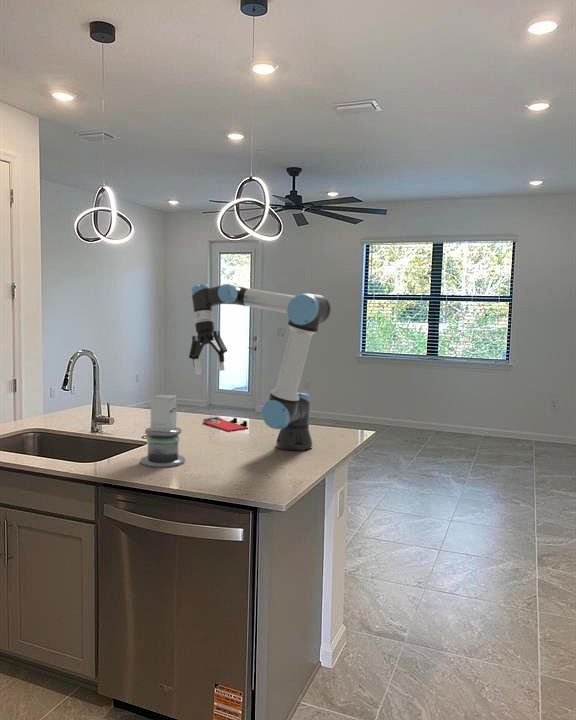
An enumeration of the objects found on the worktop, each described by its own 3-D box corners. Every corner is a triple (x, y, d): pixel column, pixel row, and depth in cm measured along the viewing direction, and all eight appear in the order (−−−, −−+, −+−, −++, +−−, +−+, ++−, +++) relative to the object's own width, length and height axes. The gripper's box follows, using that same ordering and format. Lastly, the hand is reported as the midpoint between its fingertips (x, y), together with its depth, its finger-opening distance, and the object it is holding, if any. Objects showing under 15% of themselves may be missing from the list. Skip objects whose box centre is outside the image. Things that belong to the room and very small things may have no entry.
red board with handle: (219, 418, 304) (194, 422, 294) (219, 413, 304) (194, 416, 294) (254, 429, 281) (228, 433, 272) (254, 423, 281) (228, 427, 271)
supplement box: (169, 432, 211) (169, 397, 210) (149, 431, 213) (150, 396, 212) (177, 428, 218) (177, 394, 217) (158, 427, 220) (158, 393, 219)
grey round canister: (193, 460, 219) (194, 429, 218) (164, 470, 205) (164, 436, 204) (161, 454, 227) (162, 423, 226) (131, 463, 214) (131, 430, 213)
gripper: (177, 326, 249) (182, 376, 247) (218, 316, 234) (224, 369, 232) (190, 327, 255) (195, 375, 253) (231, 316, 239) (237, 368, 238)
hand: (209, 372), depth 243 cm, fingers open, 13 cm apart
